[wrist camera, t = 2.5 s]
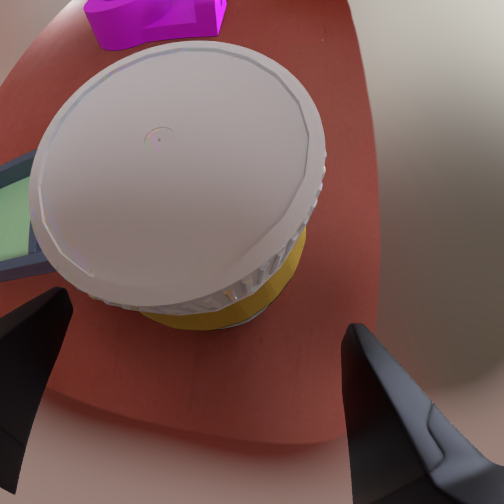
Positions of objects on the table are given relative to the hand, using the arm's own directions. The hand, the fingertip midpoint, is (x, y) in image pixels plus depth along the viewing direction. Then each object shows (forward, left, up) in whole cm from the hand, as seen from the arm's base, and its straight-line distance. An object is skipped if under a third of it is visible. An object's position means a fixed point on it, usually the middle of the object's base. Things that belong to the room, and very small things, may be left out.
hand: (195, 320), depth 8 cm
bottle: (+3, 0, -11) cm, 11 cm away
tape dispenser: (+34, +4, -11) cm, 36 cm away
